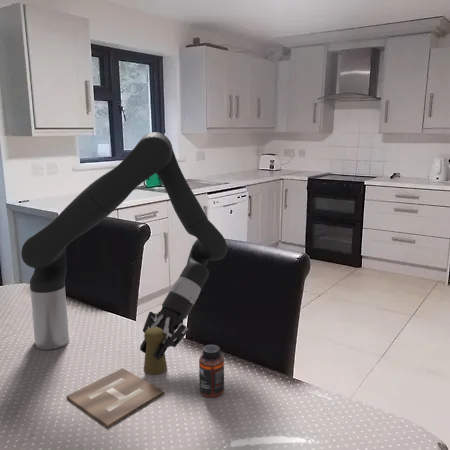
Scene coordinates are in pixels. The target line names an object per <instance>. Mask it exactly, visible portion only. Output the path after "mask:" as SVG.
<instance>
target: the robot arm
mask: <svg viewBox="0 0 450 450" xmlns="http://www.w3.org/2000/svg"><path fill="white" fill-rule="evenodd" d="M154 175H157V177H158V178H159V180H160V182H161V183H162V185H163V187H164V189H165V190H166V193H167V196H168V198H169V201H170V203H171V205H172V208H173V210H174V211H175V214H176V216H177V218H178V219H179V221H180V222H181V225H182V226H183V228H184V229H185V231H186V232H187V234H188V235H191V236H193V237H195V238H197V239H196V240H195V241H194V243H192V244H193V245H192V247H191V248H190V252H189V256H188V258H187V261H186V265H185V267H184V268H183V270H182V271H181V273H180V275H179V277H178V278H177V280H176V281H175V282H174V283H173V285H172V287H171V288H170V290H169V291H168V294H167V295H166V297H165V299H164V301H163V302H162V303H161V310H159V311H158V312H157V313H154V312H153V311H149V312H148V314H147V317H146V320H145V322H144V326H143V329H142V332H143V333H144V334H145V332H146V330H147V329H149V328H152V327H158V328H161V329H162V330H163V333H164V337H163V340H162V344H161V343H160V344H159V346H158V348H157V350H156V351H155V353H154V355H153V357H154V358H156V359H158V360H159V359H160V358H162V357H163V355H164V353H165V354H166V351H167V349H168V348H169V347H172V348H176V347H177V346H178V345H179V343H180V342H181V341H182V340H183V339H184V337H185V336H186V335H187V334H188V332H189V331H190V330H189V328H188V327H187V326H186V325H185V324H184V320H186V319H187V318H188V316H189V314H190V313H191V310H192V308H193V307H194V305H195V303H196V301H197V299H198V298H199V295H200V293H201V291H202V289H203V287H204V285H205V284H206V281H207V280H208V277H209V275H210V272H209V269H208V268H207V264H208V263H209V261H219V260H223V259H224V258H225V257H226V255H227V254H228V244H227V241H226V239H225V237H224V236H223V234H222V233H221V232H220V230H218V228H217V227H216V226H215V225H214V224H213V223H212V222H211V221H210V220H209V218H208V217H207V215H206V212H205V211H204V209H203V207H202V205H201V203H200V202H199V201H198V198H197V197H196V196H195V194H194V192H193V190H192V188H191V187H190V184H189V183H188V181H187V180H186V178H185V175H184V174H183V172H182V170H181V168H180V164H179V163H178V161H177V157H176V154H175V151H174V148H173V144H172V143H171V141H170V139H169V138H168V136H166V135H165V134H163V133H161V132H158V131H155V132H154V131H153V132H148V133H147V134H145V135H144V136H143V137H142V138H141V139H140V140H139V141H138V143H137V144H136V145H135V147H133V148H132V150H131V151H130V152H129V153H128V155H127V156H125V158H124V159H122V161H121V162H120V163H119V164H118V165H117V166H115V167H113V169H111V170H109V171H108V172H105V174H103V175H102V176H99V178H97V179H95V180H94V181H93V182H92V183H91V184H89V185H87V187H86V188H85V189H84V190H82V191H81V192H80V193H79V194H78V195H77V196H76V197H75V198H74V199H73V200H72V201H71V202H70V203H69V204H68V205H67V206H66V207H65V208H64V209H63V210H62V211H61V212H60V213H59V214H58V216H56V217H55V218H54V220H52V221H51V222H50V223H49V224H48V225H46V226H45V227H43V228H42V229H41V230H39V231H37V232H36V233H35V234H34V235H32V236H30V237H29V238H28V239H27V240H25V242H24V243H23V245H22V247H21V251H20V253H21V259H22V262H23V263H24V264H25V265H27V267H30V268H33V269H34V270H33V273H32V276H31V278H30V280H29V287H30V288H29V289H30V299H31V300H30V301H31V309H32V312H31V314H32V324H33V325H32V327H33V334H34V342H35V343H34V344H35V347H36V348H37V349H38V350H43V351H46V350H47V351H48V350H55V349H56V350H57V349H59V348H61V347H64V346H66V345H67V344H68V343H69V341H70V337H69V323H68V322H69V321H68V308H67V296H66V276H67V271H68V268H67V249H66V248H67V246H68V245H70V243H72V242H73V241H74V240H76V239H77V238H78V237H80V236H82V235H83V234H85V233H87V232H88V231H90V230H91V229H93V228H94V227H96V226H97V225H99V224H100V223H101V222H102V221H104V220H105V219H106V218H107V217H108V216H109V215H110V214H111V213H113V212H114V211H115V210H116V209H117V208H118V207H119V206H120V205H121V204H122V203H123V202H124V201H125V200H126V199H127V198H128V197H129V196H130V194H132V193H133V192H134V191H135V189H136V188H137V187H139V186H140V185H141V184H143V183H144V182H145V181H146V180H148V179H150V178H151V177H152V176H154ZM146 343H147V342H146V341H145V338H144V339H143V341H142V342H141V344H140V347H139V350H140V351H141V352H142V353H144V354H145V353H146Z"/></svg>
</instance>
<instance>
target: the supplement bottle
mask: <svg viewBox="0 0 450 450" xmlns="http://www.w3.org/2000/svg"><path fill="white" fill-rule="evenodd" d="M220 350H221V347H220V346H219V345H216V344H206V345H205V346H203V348H202V354H201V355H200V357H199V359H198V363H199V364H198V369H199V370H198V371H199V373H198V374H199V375H198V378H199V393H200V395H202V396H204V397H206V398H217V397H220V396H221V395H222V394H223V393H224V391H225V358H224V356H223V354H222V353H221V351H220Z"/></svg>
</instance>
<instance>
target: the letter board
mask: <svg viewBox="0 0 450 450" xmlns="http://www.w3.org/2000/svg"><path fill="white" fill-rule="evenodd" d="M163 395H165V391H164V390H163V389H161V388H159V387H158V386H156V385H154V384H153V383H150V382H148V381H146V380H145V379H143V378H141V377H140V376H137V375H135V374H134V373H132V372H130V371H128V370H126V369H125V368H120V369H117V370H116V371H114V372H112V373H110V374H107V375H106V376H104V377H102V378H100V379H98V380H96V381H94V382H91V383H90V384H88V385H86V386H84V387H82V388H80V389H77V390H76V391H74V392H72V393H70V394H68V395H66V399H67V400H68V401H70V402H71V403H73V404H74V405H76V406H77V407H78V408H79V409H81V410H82V411H84V412H85V413H86V414H88V415H89V416H90V417H92V418H94V419H95V420H96V421H98V422H99V423H101V424H102V425H103V426H105V427H106V428H111V426H113V425H115V424H116V423H118V422H120V421H122V420H124V419H125V418H126V417H128V416H130V415H132V414H133V413H135V412H136V411H138V410H139V409H141V408H143V407H145V406H146V405H148V404H149V403H151V402H153V401H154V400H157V399H158V398H159V397H161V396H163Z"/></svg>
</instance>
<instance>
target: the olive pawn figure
mask: <svg viewBox="0 0 450 450" xmlns="http://www.w3.org/2000/svg"><path fill="white" fill-rule="evenodd" d="M143 336H144V337H143V338H144V339H145V341H146V342H147V343H146V353H144V364H143V371H144V372H145V373H146V374H148V375H159V374H162V373H164V372H165V371H166V370H167V369H168V367H167V366H168V365H167V360H166V352H165V353H164V355H163V357H162V358H160V359H159V360H158V359H156V358H154V357H153V355H154V353H155V351H156V350H157V348H158V346H159V344H160V343H161V344H162V340H163V337H164V333H163V330H162V329H161V328H158V327H152V328H149V327H148V329H147V330H146V332H145V333H144V334H143Z"/></svg>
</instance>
